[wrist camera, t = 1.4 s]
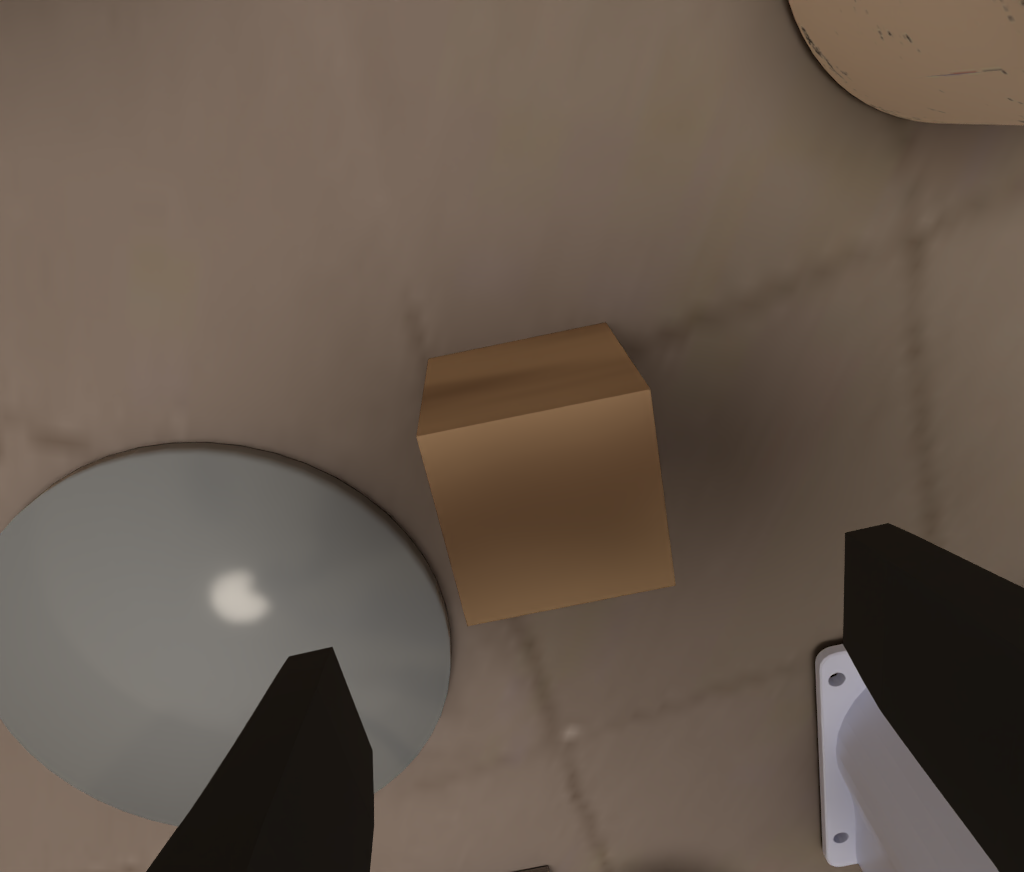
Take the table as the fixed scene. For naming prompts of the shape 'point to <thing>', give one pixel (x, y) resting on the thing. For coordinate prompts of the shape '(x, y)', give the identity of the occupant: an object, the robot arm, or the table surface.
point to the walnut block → (545, 473)
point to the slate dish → (205, 617)
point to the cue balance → (538, 869)
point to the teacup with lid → (923, 56)
